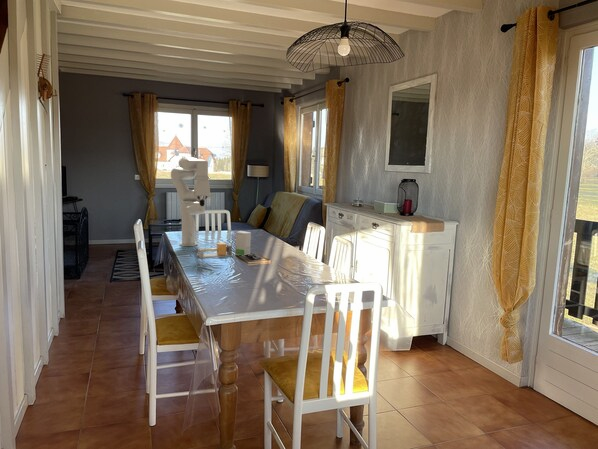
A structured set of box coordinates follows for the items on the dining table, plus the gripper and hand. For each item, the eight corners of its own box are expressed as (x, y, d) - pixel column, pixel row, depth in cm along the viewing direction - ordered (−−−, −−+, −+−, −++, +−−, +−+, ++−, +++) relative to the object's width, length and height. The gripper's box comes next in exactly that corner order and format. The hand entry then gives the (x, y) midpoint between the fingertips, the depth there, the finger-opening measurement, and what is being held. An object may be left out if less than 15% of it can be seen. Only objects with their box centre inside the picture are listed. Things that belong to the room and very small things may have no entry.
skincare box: (234, 255, 296) (235, 231, 294) (240, 253, 302) (240, 230, 300) (245, 256, 293) (245, 233, 290) (250, 254, 298) (251, 231, 296)
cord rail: (197, 255, 292) (197, 245, 292) (228, 253, 302) (229, 243, 301) (200, 258, 283) (200, 248, 283) (233, 256, 293) (233, 246, 292)
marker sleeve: (216, 253, 295) (216, 243, 294) (224, 253, 298) (224, 242, 297) (218, 255, 291) (218, 244, 290) (226, 254, 293) (226, 244, 292)
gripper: (211, 178, 304) (211, 205, 307) (189, 178, 298) (189, 205, 301) (214, 179, 298) (214, 206, 300) (192, 178, 291) (192, 206, 294)
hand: (202, 205), depth 300 cm, fingers closed
